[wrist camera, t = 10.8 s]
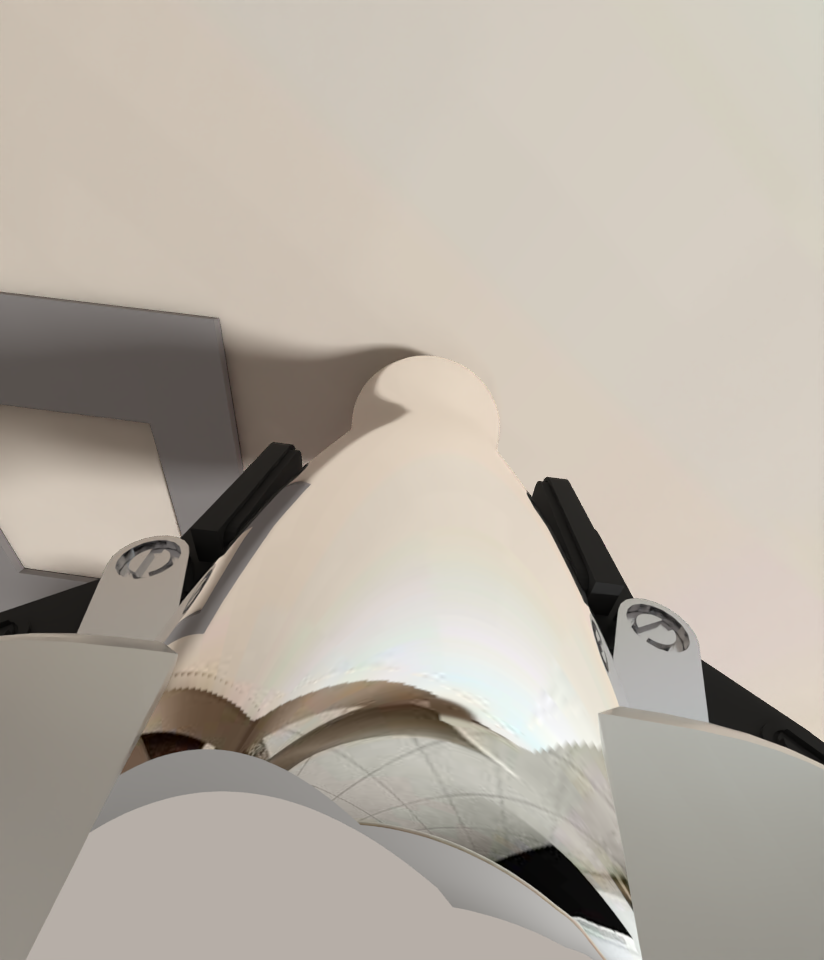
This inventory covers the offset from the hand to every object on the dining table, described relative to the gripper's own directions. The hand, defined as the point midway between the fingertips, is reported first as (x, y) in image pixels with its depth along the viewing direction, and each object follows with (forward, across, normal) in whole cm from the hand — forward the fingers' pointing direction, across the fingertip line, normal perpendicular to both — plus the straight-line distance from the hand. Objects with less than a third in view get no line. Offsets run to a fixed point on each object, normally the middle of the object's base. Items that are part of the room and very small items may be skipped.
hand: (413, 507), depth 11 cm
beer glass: (+6, 0, 0) cm, 6 cm away
